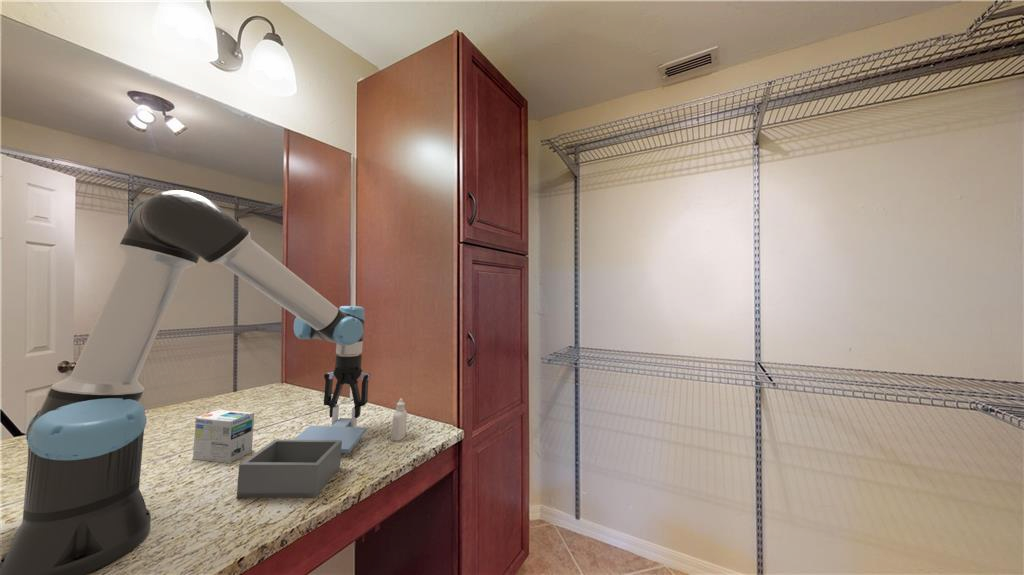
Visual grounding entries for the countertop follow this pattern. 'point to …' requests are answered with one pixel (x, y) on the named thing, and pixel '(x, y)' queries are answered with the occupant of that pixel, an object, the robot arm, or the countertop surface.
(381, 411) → the countertop surface
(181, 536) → the countertop surface
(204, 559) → the countertop surface
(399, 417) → the eye dropper bottle
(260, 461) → the tub
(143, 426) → the robot arm
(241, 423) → the light bulb box
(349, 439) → the lid
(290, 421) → the countertop surface
